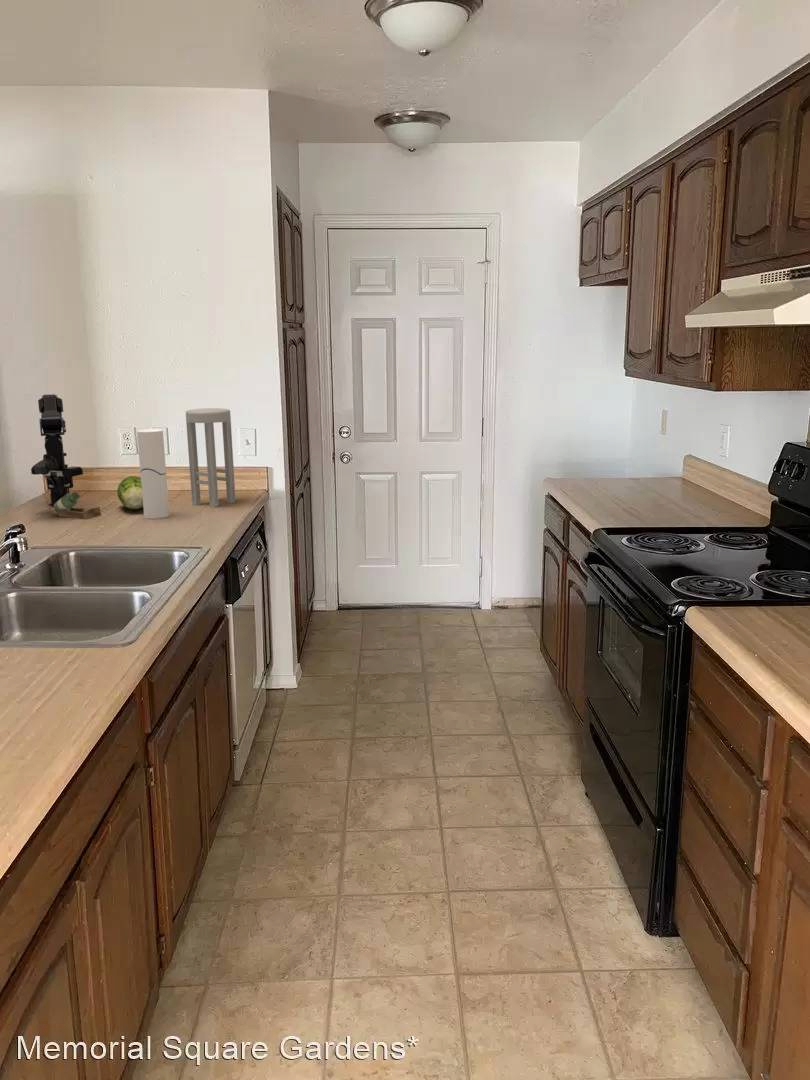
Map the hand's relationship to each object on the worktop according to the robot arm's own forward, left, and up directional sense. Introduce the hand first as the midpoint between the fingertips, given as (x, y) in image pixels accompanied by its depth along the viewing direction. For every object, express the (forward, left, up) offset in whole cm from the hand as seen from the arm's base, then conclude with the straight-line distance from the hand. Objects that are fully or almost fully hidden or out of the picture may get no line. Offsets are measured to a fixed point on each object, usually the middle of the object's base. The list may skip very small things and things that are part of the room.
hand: (59, 494), depth 297 cm
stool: (-35, +40, -7) cm, 54 cm away
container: (-9, +34, -7) cm, 36 cm away
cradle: (0, +7, -7) cm, 10 cm away
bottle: (0, -1, -5) cm, 5 cm away
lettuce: (-16, +19, -7) cm, 26 cm away
